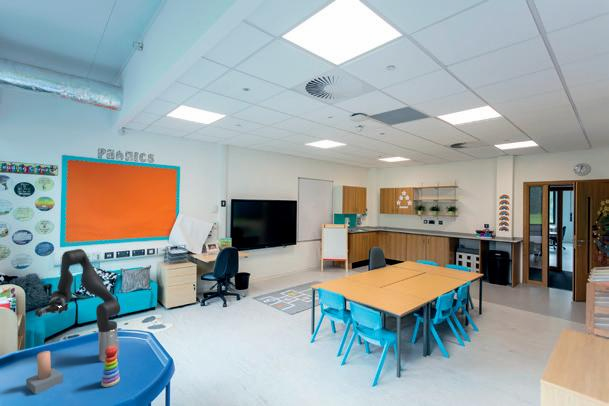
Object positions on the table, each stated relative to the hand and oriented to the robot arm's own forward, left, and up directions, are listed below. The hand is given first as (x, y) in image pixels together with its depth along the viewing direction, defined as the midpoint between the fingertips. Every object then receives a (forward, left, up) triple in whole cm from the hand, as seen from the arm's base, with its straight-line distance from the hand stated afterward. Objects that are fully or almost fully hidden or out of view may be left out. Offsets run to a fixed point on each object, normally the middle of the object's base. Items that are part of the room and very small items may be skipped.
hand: (49, 313), depth 167 cm
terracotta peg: (+9, +17, -26) cm, 32 cm away
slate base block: (+9, +17, -30) cm, 35 cm away
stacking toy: (-9, +44, -30) cm, 54 cm away
